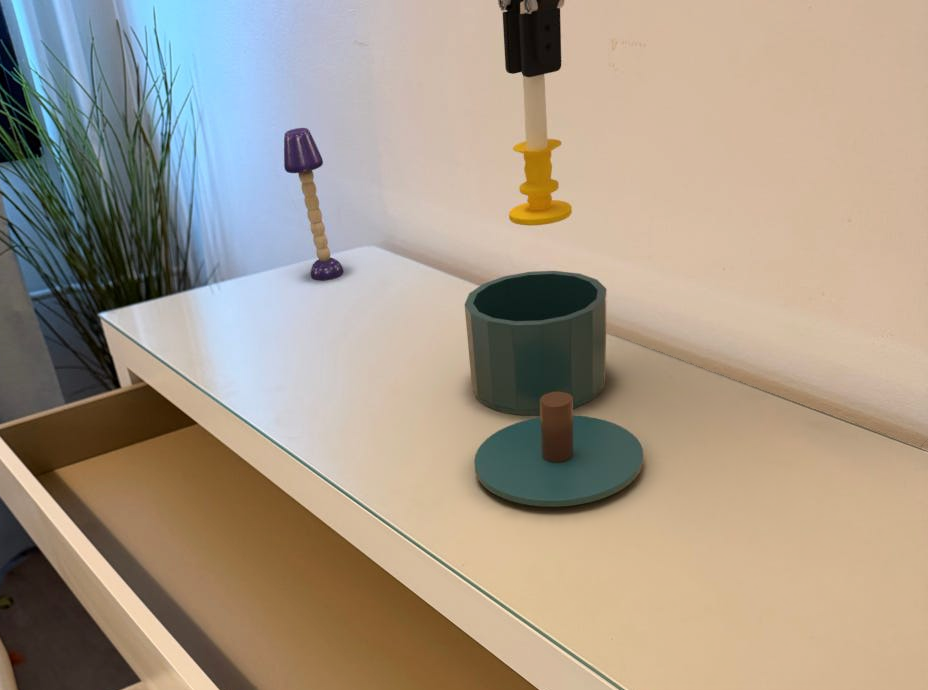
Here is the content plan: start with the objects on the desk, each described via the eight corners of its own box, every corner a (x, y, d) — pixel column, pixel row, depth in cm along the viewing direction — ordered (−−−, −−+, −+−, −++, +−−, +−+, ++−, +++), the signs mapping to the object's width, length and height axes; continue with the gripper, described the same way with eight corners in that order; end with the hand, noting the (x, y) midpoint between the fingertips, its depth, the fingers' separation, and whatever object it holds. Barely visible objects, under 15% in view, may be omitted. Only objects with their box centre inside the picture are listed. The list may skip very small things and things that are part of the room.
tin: (514, 348, 96) (509, 265, 90) (627, 367, 90) (629, 278, 85) (448, 401, 88) (439, 313, 83) (567, 425, 83) (565, 332, 77)
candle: (500, 215, 79) (484, -6, 69) (556, 202, 80) (548, -17, 70) (523, 230, 75) (509, -2, 65) (582, 216, 76) (577, -14, 66)
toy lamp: (310, 283, 117) (281, 137, 106) (303, 272, 121) (274, 130, 110) (347, 275, 118) (322, 129, 107) (338, 265, 121) (313, 122, 111)
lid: (526, 416, 85) (522, 351, 81) (669, 445, 78) (673, 375, 74) (443, 490, 76) (435, 422, 72) (597, 529, 70) (597, 456, 66)
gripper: (643, -286, 55) (635, 74, 67) (509, -250, 66) (522, 53, 78) (534, -276, 52) (546, 94, 64) (414, -240, 64) (443, 70, 75)
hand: (533, 70), depth 71 cm, fingers closed on candle
